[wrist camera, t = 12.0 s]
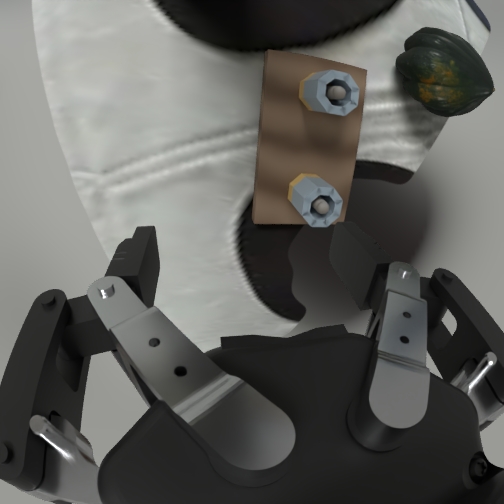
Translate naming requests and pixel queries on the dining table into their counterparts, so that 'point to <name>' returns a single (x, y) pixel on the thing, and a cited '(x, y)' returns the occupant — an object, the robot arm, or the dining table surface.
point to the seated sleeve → (316, 88)
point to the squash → (444, 72)
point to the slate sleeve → (308, 190)
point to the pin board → (302, 137)
